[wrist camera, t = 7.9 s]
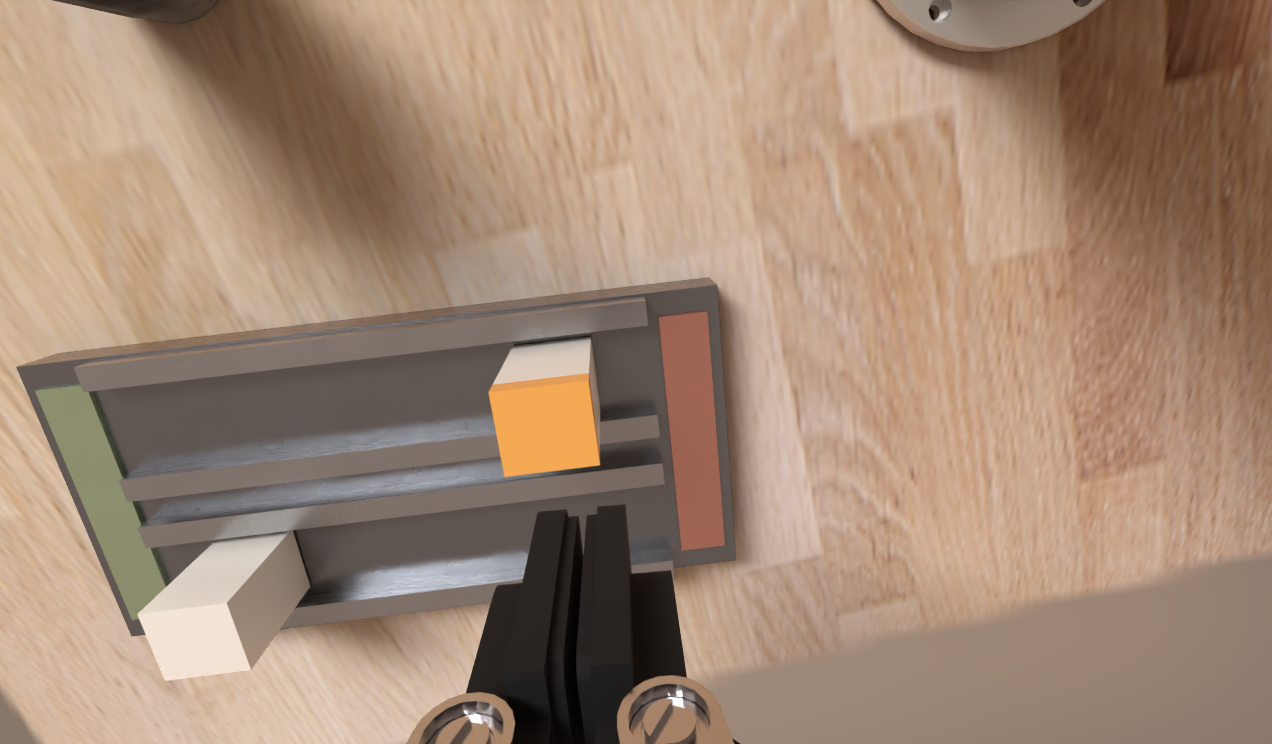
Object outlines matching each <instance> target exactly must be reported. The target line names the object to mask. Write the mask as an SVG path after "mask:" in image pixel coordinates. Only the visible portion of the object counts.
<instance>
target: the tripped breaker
mask: <svg viewBox="0 0 1272 744" xmlns="http://www.w3.org/2000/svg"><path fill="white" fill-rule="evenodd" d="M488 393H489V398H490V403H491V408H492V414H493V419H494V424H495V429H496V435H497V440H498V445H499V450H500V456H501V461H502V466H503V471H504V477H509V476H517V475H525V474H533V473H541V472H549V471H558V470H566V469H574V468H582V467H590V466H598V465H600V401H599V393H598V386H597V378H596V371H595V363H594V356H593V348H592V341H591V337H585V338H576V339H568V340H559V341H551V342H542V343H534V344H525V345H517V346H513V347H512V349H511V351H510V352H509V354H508V356H507V358H506V360H505V362H504V364H503V366H502V368H501V370H500V372H499V373H498V375H497V377H496V379H495V381H494V383H493V385H492V387H491V389H490V391H489V392H488Z"/></svg>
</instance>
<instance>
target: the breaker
mask: <svg viewBox="0 0 1272 744" xmlns="http://www.w3.org/2000/svg"><path fill="white" fill-rule="evenodd" d="M309 588H310V584H309V581H308V578H307V574H306V571H305V568H304V565H303V562H302V558H301V555H300V552H299V549H298V546H297V543H296V539H295V536H294V533H293V530H291V531H283V532H275V533H267V534H259V535H251V536H242V537H234V538H226V539H218V540H216V541H215V542H214V543H213V544H212V545H210V546H209V547H208V548H207V549H206V550H205V551H204V552H203V553H202V554H201V555H200V556H199V557H198V558H197V559H196V560H194V561H193V562H192V563H191V564H190V565H189V566H188V567H187V568H186V569H185V570H184V571H183V572H182V573H181V574H180V575H179V576H177V577H176V578H175V579H174V580H173V581H172V582H171V583H170V584H169V585H168V586H167V587H166V588H165V589H164V590H163V591H161V592H160V593H159V594H158V595H157V596H156V597H155V598H154V599H153V600H152V601H151V602H150V603H149V604H148V605H147V606H145V607H144V608H143V609H142V610H141V611H140V612H139V613H138V614H137V615H138V617H139V620H140V622H141V625H142V627H143V629H144V632H145V634H146V636H147V639H148V641H149V644H150V646H151V648H152V651H153V653H154V656H155V658H156V660H157V663H158V665H159V667H160V670H161V672H162V675H163V677H164V679H165V681H168V680H175V679H183V678H191V677H199V676H207V675H214V674H222V673H230V672H238V671H246V670H251V669H252V668H253V666H254V665H255V663H256V662H257V661H258V659H259V658H260V656H261V655H262V654H263V652H264V651H265V649H266V648H267V647H268V645H269V644H270V642H271V641H272V640H273V638H274V637H275V635H276V634H277V633H278V631H279V630H280V628H281V627H282V626H283V624H284V623H285V621H286V620H287V619H288V617H289V616H290V614H291V613H292V612H293V610H294V609H295V607H296V606H297V605H298V603H299V602H300V600H301V599H302V598H303V596H304V595H305V593H306V592H307V591H308V589H309Z"/></svg>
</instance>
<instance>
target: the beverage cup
mask: <svg viewBox="0 0 1272 744" xmlns="http://www.w3.org/2000/svg"><path fill="white" fill-rule="evenodd" d="M54 1H58V2H63V3H67V4H72V5H77V6H81V7H86V8H90V9H95V10H99V11H104V12H108V13H113V14H118V15H122V16H127V17H131V18H146V19H155V20H158V21H160V22H167V23H184V22H187V21H190V20H193V19H196V18H199V17H201V16H202V15H203V14H205V13H206V12H207V11H208V10H209V9H210V8H212V7H213V6H214V5H215V3H216V1H217V0H54Z"/></svg>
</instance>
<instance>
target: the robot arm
mask: <svg viewBox="0 0 1272 744" xmlns="http://www.w3.org/2000/svg"><path fill="white" fill-rule="evenodd" d="M877 1H878V2H879V4H880V5H881V6H882V7H883V8H884V10H885V11H886V12H887V13H888V14H889V15H890V16H891V17H892V18H894V19H895V20H896V21H897V22H899V23H900V24H901V25H902V26H904V27H905V28H906V29H908V30H909V31H910V32H911V33H913V34H915V35H917V36H920V37H922V38H924V39H926V40H928V41H930V42H932V43H934V44H936V45H939V46H944V47H948V48H953V49H957V50H962V51H999V50H1003V49H1008V48H1013V47H1017V46H1022V45H1026V44H1028V43H1031V42H1034V41H1037V40H1040V39H1042V38H1045V37H1048V36H1051V35H1054V34H1056V33H1058V32H1060V31H1061V30H1063V29H1065V28H1067V27H1069V26H1071V25H1072V24H1074V23H1076V22H1078V21H1080V20H1082V19H1083V18H1085V17H1086V16H1087V15H1088V14H1090V13H1091V12H1092V11H1093V10H1095V9H1096V8H1097V7H1098V6H1100V5H1101V4H1102V3H1104V2H1105V1H1106V0H877ZM929 9H931V10H932V11H933V13H934V17H933V20H932V19H931V18H930V15H929ZM406 744H740V743H738V742H737V741H735V740H734V739H732V737H731V734H730V731H729V729H728V726H727V724H726V721H725V718H724V716H723V713H722V711H721V708H720V706H719V704H718V702H717V701H716V699H715V697H714V696H713V694H712V693H711V692H710V691H709V690H708V689H707V688H705V687H704V686H703V685H702V684H700V683H698V682H696V681H694V680H691V679H689V678H687V675H686V669H685V662H684V655H683V648H682V641H681V634H680V627H679V620H678V613H677V606H676V599H675V592H674V586H673V579H672V572H671V570H667V571H655V572H644V573H632V569H631V558H630V547H629V536H628V525H627V515H626V505H625V504H621V505H609V506H598V507H597V514H593V515H587V517H586V529H585V543H584V555H583V547H582V538H581V530H580V522H579V517H578V516H570V517H569V516H568V511H567V509H562V510H550V511H539V512H538V513H537V517H536V521H535V526H534V531H533V535H532V540H531V544H530V549H529V554H528V558H527V563H526V568H525V572H524V577H523V582H522V583H516V584H504V585H498V586H497V587H496V588H495V591H494V594H493V597H492V601H491V605H490V608H489V612H488V615H487V619H486V623H485V626H484V630H483V634H482V637H481V641H480V644H479V648H478V652H477V655H476V659H475V662H474V666H473V670H472V673H471V677H470V680H469V684H468V688H467V691H466V694H462V695H459V696H456V697H453V698H450V699H448V700H446V701H445V702H443V703H441V704H439V705H438V706H436V707H434V708H433V709H432V710H431V711H430V712H429V713H428V714H427V715H425V716H424V717H423V718H422V719H421V720H420V722H419V723H418V725H417V726H416V728H415V729H414V731H413V732H412V734H411V736H410V738H409V739H408V741H407V743H406Z"/></svg>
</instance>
